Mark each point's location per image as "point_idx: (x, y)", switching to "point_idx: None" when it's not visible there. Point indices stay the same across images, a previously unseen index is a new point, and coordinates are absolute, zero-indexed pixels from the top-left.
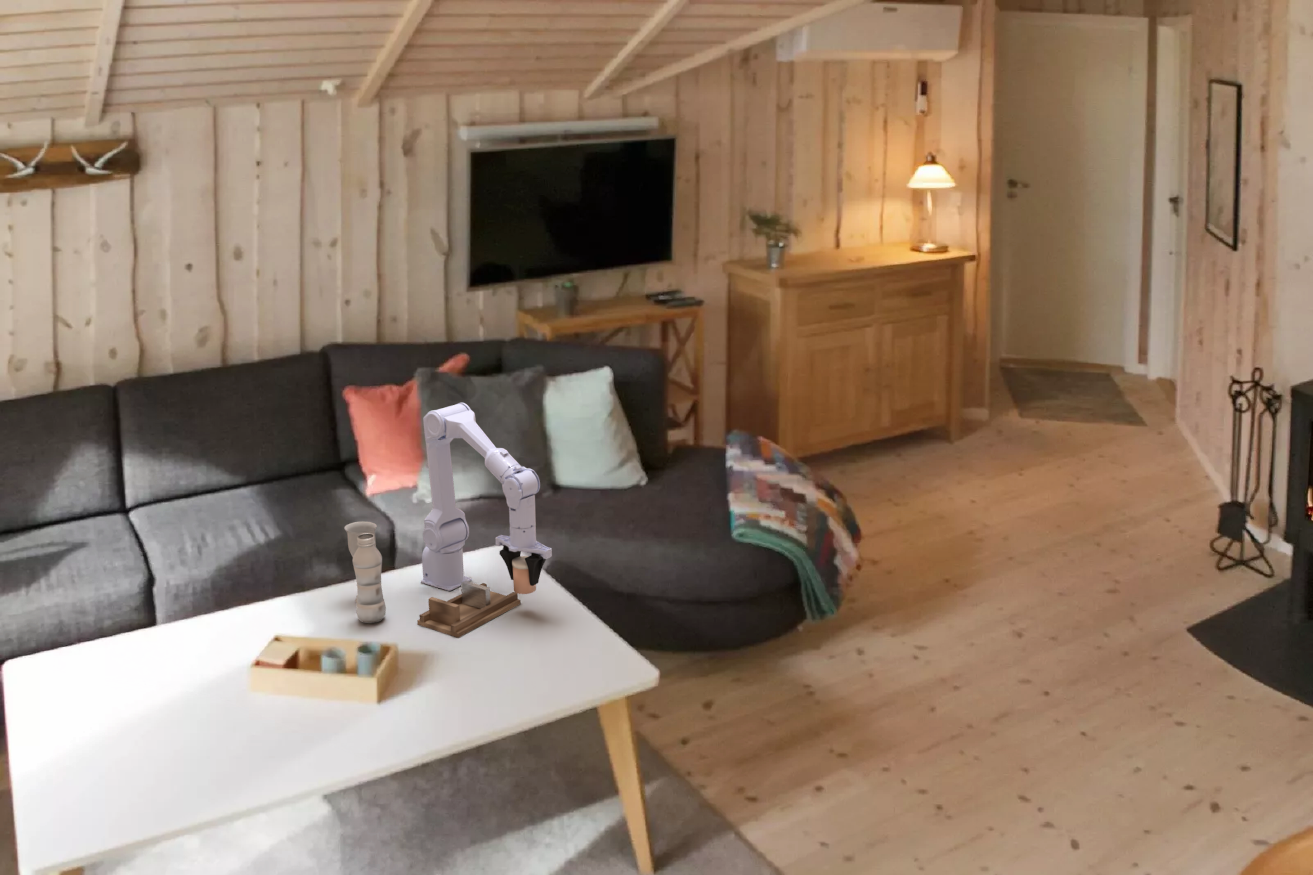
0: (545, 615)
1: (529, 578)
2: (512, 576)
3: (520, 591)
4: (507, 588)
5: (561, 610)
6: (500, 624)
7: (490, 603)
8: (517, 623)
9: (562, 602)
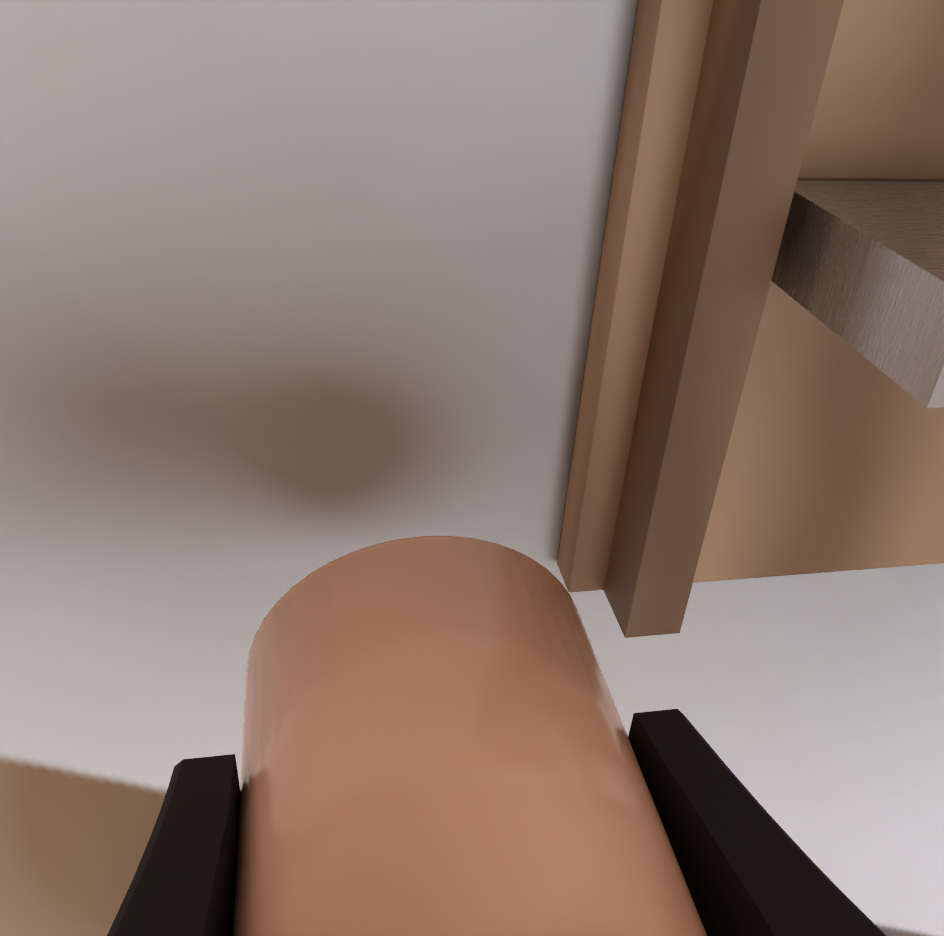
0: (156, 527)
1: (206, 878)
2: (662, 766)
3: (372, 575)
4: (819, 682)
5: (119, 675)
6: (435, 37)
7: (786, 292)
8: (261, 196)
9: None
